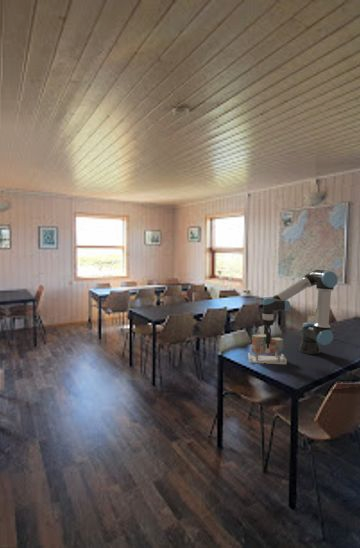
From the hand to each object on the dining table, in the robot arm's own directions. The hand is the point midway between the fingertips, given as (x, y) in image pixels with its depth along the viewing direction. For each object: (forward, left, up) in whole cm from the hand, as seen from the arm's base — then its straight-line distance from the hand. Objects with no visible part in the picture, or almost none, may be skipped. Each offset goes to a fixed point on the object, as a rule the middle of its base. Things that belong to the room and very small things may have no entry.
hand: (266, 350), depth 231 cm
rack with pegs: (0, 0, -7) cm, 7 cm away
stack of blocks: (-1, 0, -1) cm, 1 cm away
